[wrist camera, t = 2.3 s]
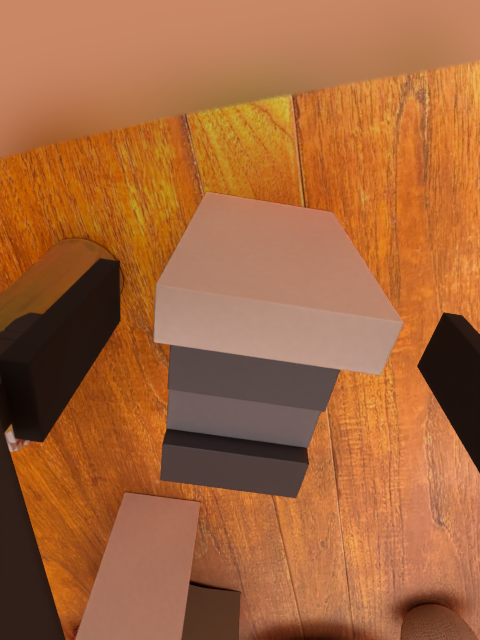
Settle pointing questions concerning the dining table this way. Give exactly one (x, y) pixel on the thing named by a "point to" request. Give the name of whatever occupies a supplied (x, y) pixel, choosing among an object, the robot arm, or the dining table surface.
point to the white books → (143, 572)
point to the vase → (49, 279)
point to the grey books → (241, 420)
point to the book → (211, 614)
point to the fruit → (435, 624)
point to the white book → (274, 288)
